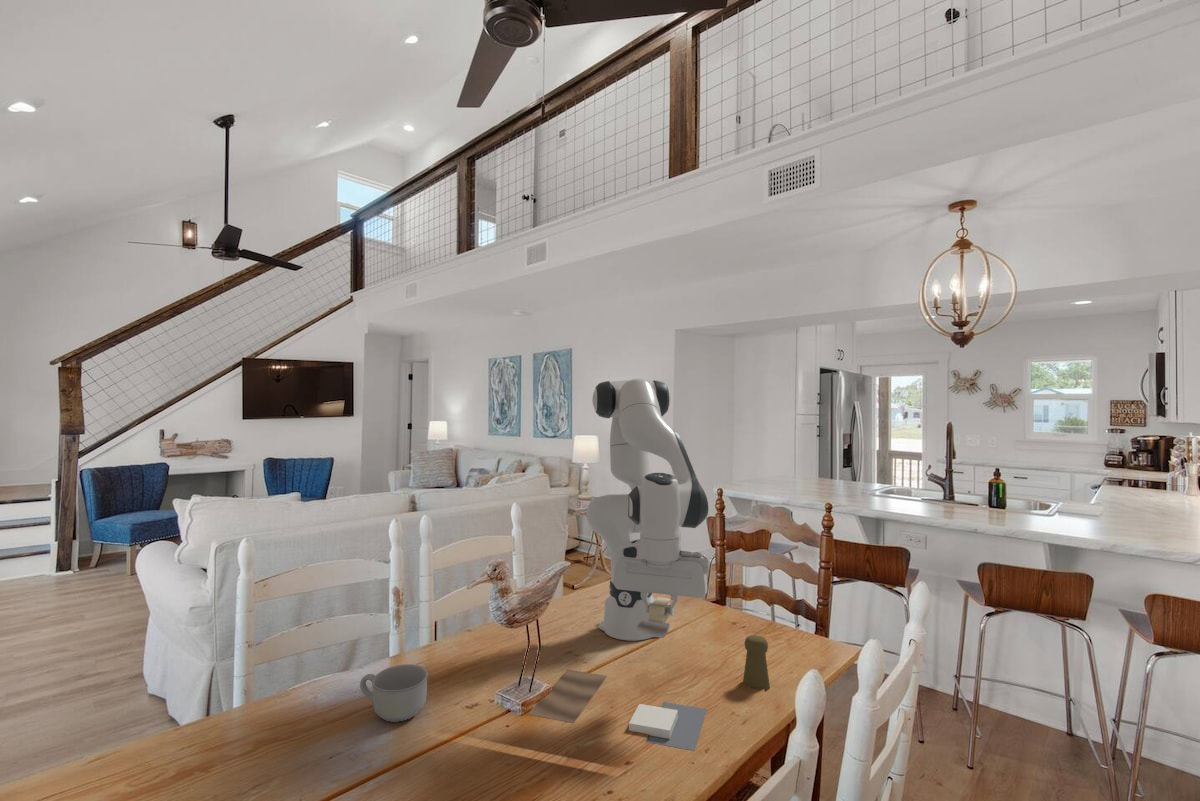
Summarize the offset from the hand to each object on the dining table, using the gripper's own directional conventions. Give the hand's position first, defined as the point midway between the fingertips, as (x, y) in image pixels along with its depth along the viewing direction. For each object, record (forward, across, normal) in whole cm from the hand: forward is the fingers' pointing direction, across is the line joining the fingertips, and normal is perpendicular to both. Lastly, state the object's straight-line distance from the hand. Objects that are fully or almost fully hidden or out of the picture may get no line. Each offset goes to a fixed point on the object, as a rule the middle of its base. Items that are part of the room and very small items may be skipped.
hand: (659, 613), depth 127 cm
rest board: (+19, +19, +5) cm, 27 cm away
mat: (+19, -1, +9) cm, 21 cm away
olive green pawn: (+19, -20, -15) cm, 31 cm away
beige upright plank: (+1, 0, +3) cm, 3 cm away
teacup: (+19, +51, +23) cm, 59 cm away
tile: (+17, -1, +7) cm, 19 cm away
